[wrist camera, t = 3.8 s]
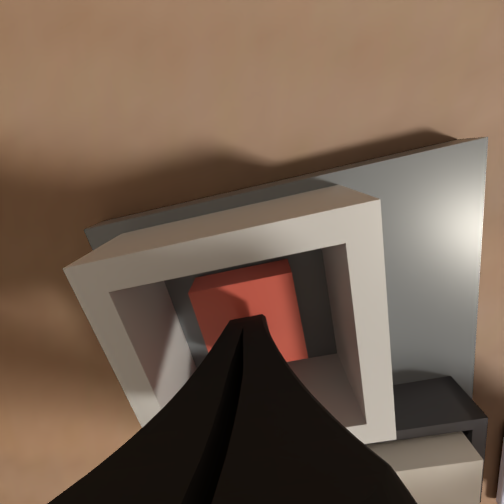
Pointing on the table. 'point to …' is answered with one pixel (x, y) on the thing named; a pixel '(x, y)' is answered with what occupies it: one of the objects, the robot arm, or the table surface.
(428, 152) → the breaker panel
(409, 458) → the on button
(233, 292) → the plunger
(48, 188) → the table surface
